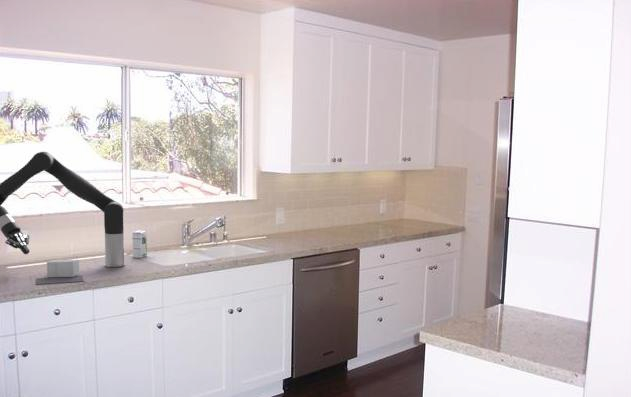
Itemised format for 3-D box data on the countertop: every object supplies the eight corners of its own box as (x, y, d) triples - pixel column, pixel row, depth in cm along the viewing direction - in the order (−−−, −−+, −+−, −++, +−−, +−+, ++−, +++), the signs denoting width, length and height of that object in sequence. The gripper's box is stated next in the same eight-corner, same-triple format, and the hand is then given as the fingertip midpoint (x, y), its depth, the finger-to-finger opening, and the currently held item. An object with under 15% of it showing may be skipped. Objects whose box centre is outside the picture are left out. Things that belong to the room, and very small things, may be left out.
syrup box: (141, 258, 328) (141, 232, 327) (132, 257, 329) (132, 231, 328) (146, 256, 334) (146, 230, 332) (137, 255, 335) (137, 230, 333)
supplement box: (53, 274, 284) (79, 274, 284) (46, 277, 277) (73, 277, 277) (53, 259, 284) (79, 259, 284) (46, 261, 277) (73, 261, 277)
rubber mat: (82, 276, 283) (82, 275, 283) (83, 281, 272) (83, 280, 272) (36, 278, 275) (36, 278, 275) (35, 284, 264) (35, 284, 264)
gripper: (0, 222, 278) (19, 250, 275) (23, 219, 291) (42, 246, 287) (-8, 232, 281) (11, 260, 277) (15, 229, 293) (34, 255, 290)
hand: (27, 253), depth 282 cm, fingers closed
